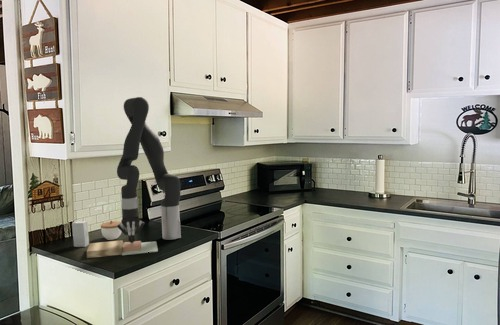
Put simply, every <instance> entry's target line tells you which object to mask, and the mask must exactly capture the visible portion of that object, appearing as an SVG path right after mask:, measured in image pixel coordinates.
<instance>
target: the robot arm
mask: <svg viewBox="0 0 500 325" xmlns="http://www.w3.org/2000/svg"><path fill="white" fill-rule="evenodd" d="M149 109H150V106H149V102H148V100H147V99H146V98H145V97H141V96H137V97H131V98H128V99H126V100H125V101H124V102H123V111H124V114H125V115H126V117H127V119H128V121H129V122H130V124H131V125H130V129H129V131H128V133H127V134H126V136H125V140H124V143H123V148H122V155H121V157H120V159H119V163H118V165H117V168H116V174H117V177H118V178H119V179H120V180H124V181H126V184H124V185H122V186H121V192H120V194H121V203H120V204H121V217H122V219H121V221H120V222H121V223H120V224H118V225H117V227H118V228H119V229H120V230H121V231H122V232H121V233H122V234H123V235H125V236H127V237H128V242H130V243H134V242H135V241H136V235H138V234H139V233H140V231H141V230H142V228H143V227H144V225H145V221H142V220H141V218H140V214H139V200H138V186H139V185H138V184H139V180H140V169H139V168H138V166H137V165H135V164H134V165H133V164H132V163H133V162H134V161H137V160H138V158H139V151H140V146H141V147H142V150H143V153H144V154H145V157H146V158H147V161H148V164H149V166H150V168H151V171H152V172H153V175H154V176H153V177H154V179H155V182H156V186H157V188H158V189H159V190H160V191H161V192H164V198H162V199H161V200H160V211H161V212H160V213H161V231H162V232H161V234H162V239H163V240H169V241H170V240H171V241H172V240H177V239H181V238H182V235H181V234H182V231H181V220H180V219H181V218H180V217H181V216H180V200H181V180H180V178H179V177H178V175H175V174H170V173H169V172H168V170H167V168H166V165H165V162H164V159H165V158H164V156H165V152H164V148H163V145H162V143H161V140H160V138H159V137H158V135H157V134H156V132H155V131H153V129H151V128H150V126H149V125H148V124H147V122H146V120H147V117H148V114H149ZM137 226H138V227H137ZM124 227H125V228H126V229H127V230H126V229H125V228H124Z"/></svg>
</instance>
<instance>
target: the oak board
mask: <svg viewBox="0 0 500 325" xmlns="http://www.w3.org/2000/svg"><path fill="white" fill-rule="evenodd" d="M123 245H124V240H121V239H120V240H109V241H100V242H92V243H91V242H89V245H88V246H87V249H86V259H91V258H101V257H109V256H110V257H113V256H119V255H120V256H122V250H123Z"/></svg>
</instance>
